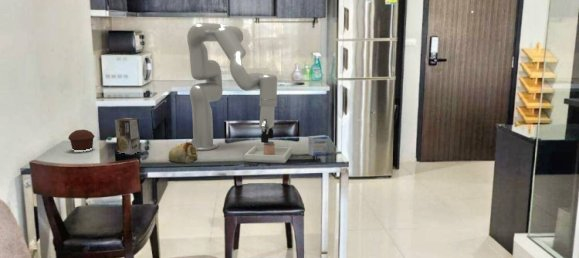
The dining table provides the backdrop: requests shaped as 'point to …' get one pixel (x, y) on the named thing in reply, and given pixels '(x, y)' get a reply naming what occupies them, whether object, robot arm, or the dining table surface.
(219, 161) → the dining table surface
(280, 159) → the tray
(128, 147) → the coffee box
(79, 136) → the muffin
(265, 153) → the shaker
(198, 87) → the robot arm
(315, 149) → the medicine box
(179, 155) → the pastry
